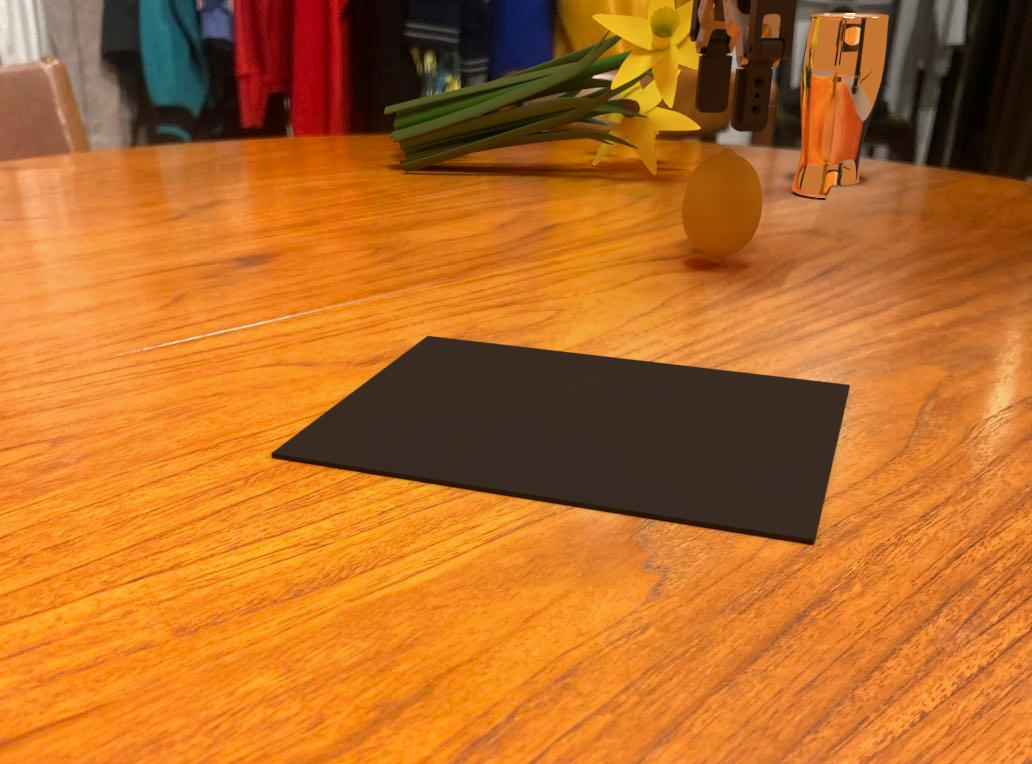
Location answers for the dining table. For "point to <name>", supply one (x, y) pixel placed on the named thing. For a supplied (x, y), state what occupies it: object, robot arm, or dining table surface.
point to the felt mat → (593, 434)
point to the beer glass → (838, 97)
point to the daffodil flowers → (563, 97)
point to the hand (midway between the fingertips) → (728, 121)
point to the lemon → (722, 205)
